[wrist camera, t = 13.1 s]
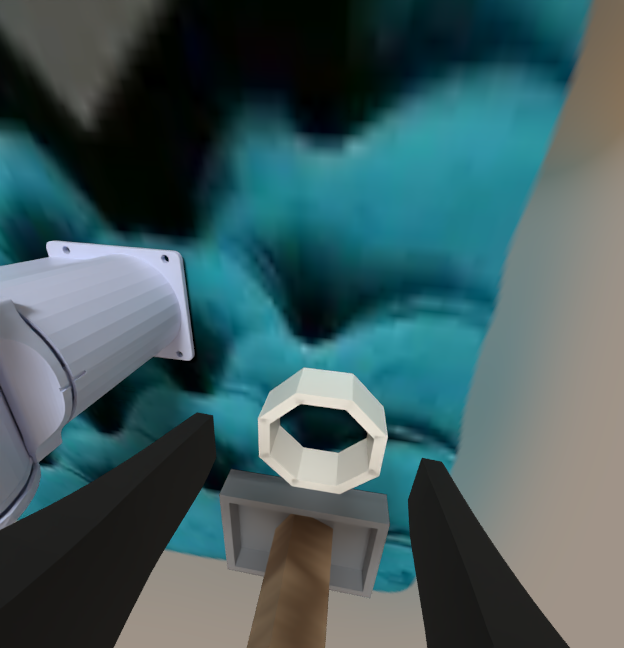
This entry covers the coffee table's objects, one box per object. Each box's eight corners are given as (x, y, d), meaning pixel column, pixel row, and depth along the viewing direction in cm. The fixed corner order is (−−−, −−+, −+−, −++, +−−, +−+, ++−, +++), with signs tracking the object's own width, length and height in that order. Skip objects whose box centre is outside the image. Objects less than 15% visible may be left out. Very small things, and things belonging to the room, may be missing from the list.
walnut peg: (275, 529, 28) (241, 668, 19) (296, 508, 26) (268, 650, 18) (310, 547, 28) (292, 691, 20) (333, 528, 26) (323, 676, 18)
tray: (237, 541, 31) (227, 569, 28) (231, 469, 26) (219, 494, 24) (369, 567, 29) (370, 598, 27) (386, 494, 25) (389, 524, 22)
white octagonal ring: (270, 449, 25) (259, 480, 22) (269, 363, 21) (257, 387, 18) (371, 465, 24) (374, 500, 21) (389, 378, 20) (394, 405, 17)
